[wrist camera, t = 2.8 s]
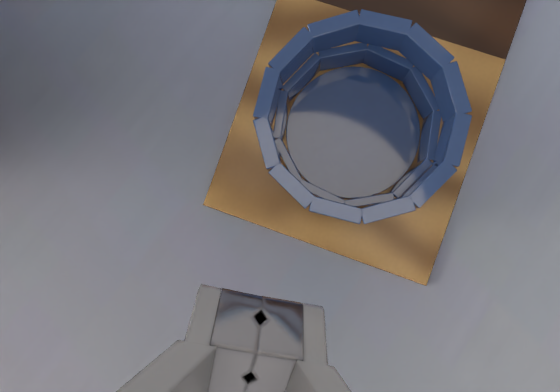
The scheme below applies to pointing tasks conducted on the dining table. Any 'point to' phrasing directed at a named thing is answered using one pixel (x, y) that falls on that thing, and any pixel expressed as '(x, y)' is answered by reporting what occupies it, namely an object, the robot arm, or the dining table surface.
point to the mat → (453, 19)
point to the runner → (334, 232)
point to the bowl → (362, 117)
